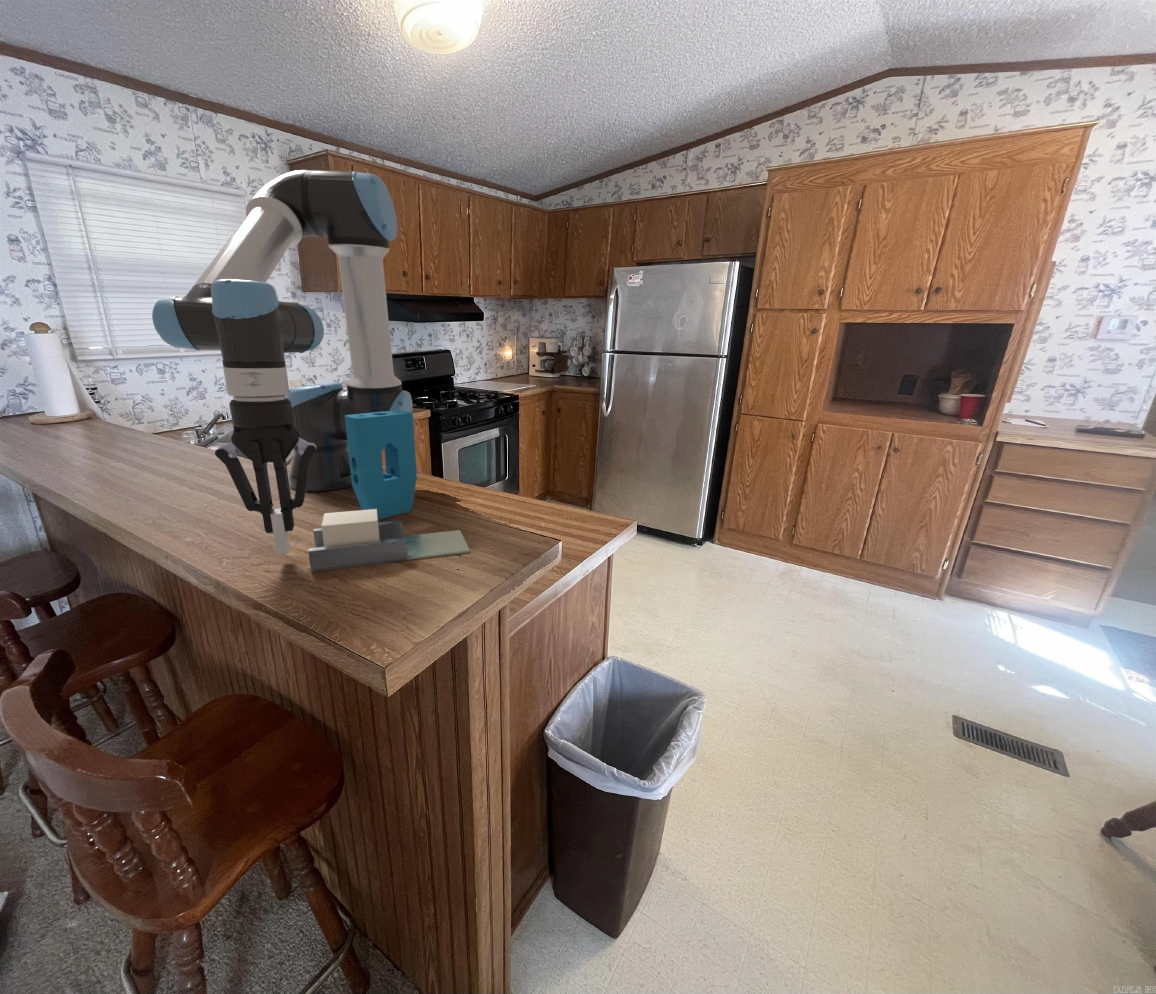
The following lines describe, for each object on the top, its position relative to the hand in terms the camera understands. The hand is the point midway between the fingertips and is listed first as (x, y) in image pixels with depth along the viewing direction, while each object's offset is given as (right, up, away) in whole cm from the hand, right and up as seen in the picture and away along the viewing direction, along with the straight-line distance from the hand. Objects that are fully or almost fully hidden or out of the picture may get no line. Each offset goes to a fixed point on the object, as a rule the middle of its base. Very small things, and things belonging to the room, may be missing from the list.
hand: (283, 550), depth 79 cm
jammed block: (+9, -1, +4) cm, 10 cm away
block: (+7, +5, +24) cm, 26 cm away
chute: (+15, -1, +7) cm, 16 cm away
